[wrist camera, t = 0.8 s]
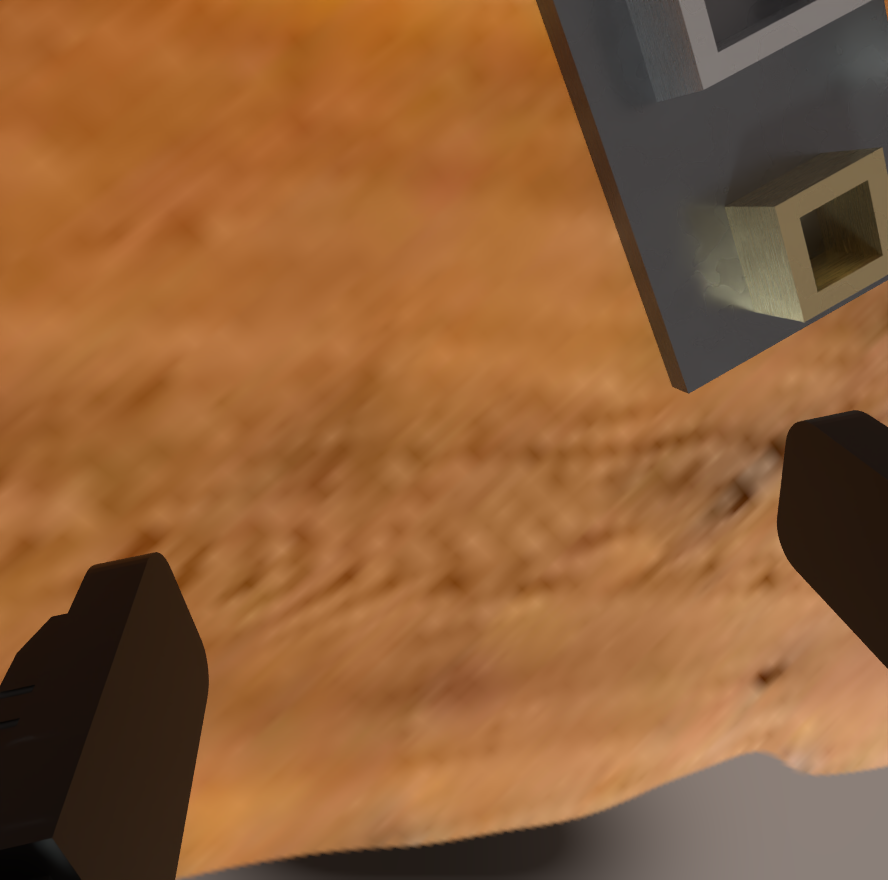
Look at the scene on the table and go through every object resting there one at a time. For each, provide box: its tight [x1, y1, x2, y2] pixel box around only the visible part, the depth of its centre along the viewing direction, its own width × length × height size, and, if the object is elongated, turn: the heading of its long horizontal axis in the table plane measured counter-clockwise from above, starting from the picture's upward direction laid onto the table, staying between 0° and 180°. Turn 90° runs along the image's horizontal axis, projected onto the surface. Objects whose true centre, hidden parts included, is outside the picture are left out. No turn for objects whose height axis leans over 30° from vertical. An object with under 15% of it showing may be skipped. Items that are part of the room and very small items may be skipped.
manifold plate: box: [536, 0, 888, 394], centre depth 31 cm, size 23×15×5 cm, turn 26°
